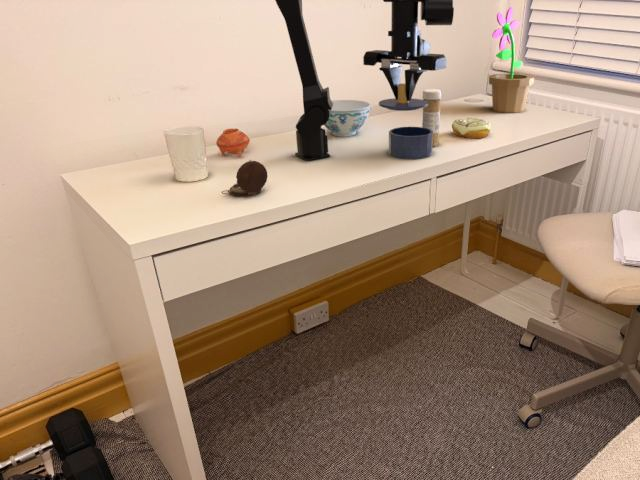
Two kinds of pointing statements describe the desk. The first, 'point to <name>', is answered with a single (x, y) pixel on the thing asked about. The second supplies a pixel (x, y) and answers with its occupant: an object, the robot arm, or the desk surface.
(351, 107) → the chinaware
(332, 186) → the desk surface
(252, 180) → the compass
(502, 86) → the flowerpot
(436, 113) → the sprinkles bottle
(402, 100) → the tin lid
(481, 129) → the decorated donut
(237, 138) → the pot
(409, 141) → the tin
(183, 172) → the white cup
